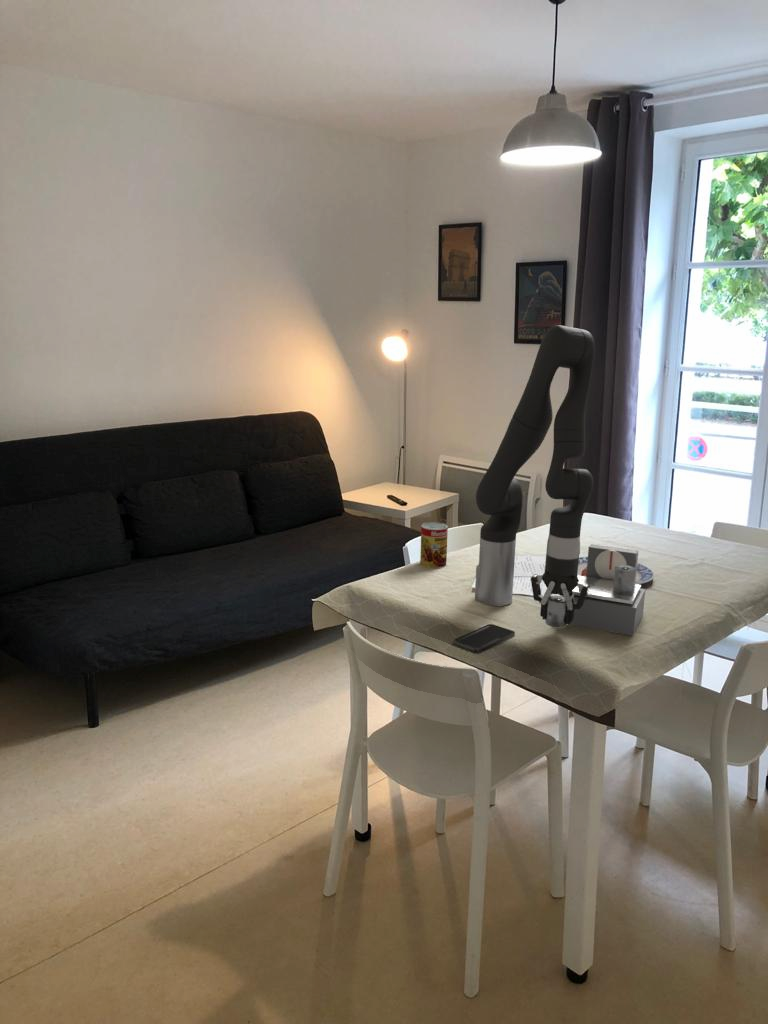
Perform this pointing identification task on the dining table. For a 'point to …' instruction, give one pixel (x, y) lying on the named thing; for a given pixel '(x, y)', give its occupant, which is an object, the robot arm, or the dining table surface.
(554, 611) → the cylinder
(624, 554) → the scale
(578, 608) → the robot arm
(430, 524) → the canned food
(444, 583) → the dining table surface
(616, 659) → the dining table surface
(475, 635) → the phone
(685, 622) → the dining table surface
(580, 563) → the ceramic plate
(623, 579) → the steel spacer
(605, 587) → the scale pan
